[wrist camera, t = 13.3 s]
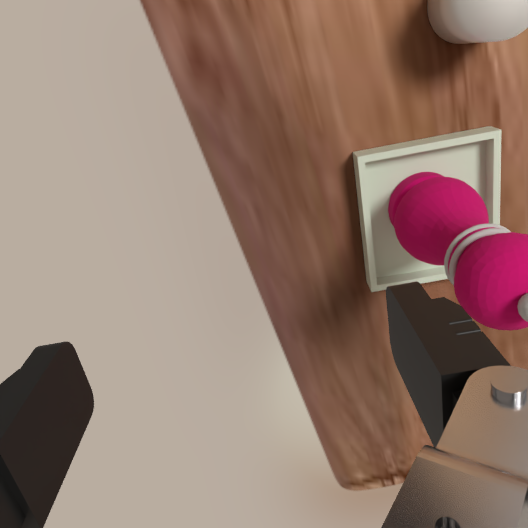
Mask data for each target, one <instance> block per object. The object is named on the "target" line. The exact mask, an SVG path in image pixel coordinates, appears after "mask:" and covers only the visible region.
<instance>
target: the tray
mask: <svg viewBox="0 0 528 528" xmlns="http://www.w3.org/2000/svg"><path fill="white" fill-rule="evenodd" d="M353 161H354V170H355V180H356V189H357V198H358V207H359V217H360V226H361V235H362V244H363V254H364V263H365V272H366V281H367V284H368V286H369V288H370V290H371V292H375V291H381V290H386V288H387V287H388V286H393V285H399V284H405V283H411V282H416V281H417V282H419V283H420V284H421V283H426V282H432V281H438V280H444V279H448V278H447V276H446V273H445V269H444V265H432V264H428V263H425V262H422V261H420V260H418V259H416V258H414V257H413V256H411V255H410V254H409V253H408V252H407V251H406V250H405V249H404V248H403V247H402V246H401V244H400V243H399V241H398V239H397V236H396V233H395V228H394V226H393V225H392V223H391V221H390V218H389V213H388V205H389V201H390V197H391V195H392V193H393V191H394V190H395V188H396V187H397V186H398V185H399V184H400V183H401V182H402V181H403V180H404V179H406V178H407V177H409V176H411V175H413V174H416V173H420V172H435V173H438V174H441V175H443V176H444V177H452V178H456V179H459V180H462V181H464V182H465V183H467V184H468V185H470V186H471V187H472V188H473V189H474V190H476V191H477V193H478V194H479V195H480V196H481V198H482V199H483V201H484V203H485V206H486V208H487V211H488V217H489V224H497V225H500V180H501V129H498V128H494V127H491V126H487V127H482V128H477V129H472V130H466V131H461V132H456V133H451V134H445V135H440V136H435V137H429V138H424V139H419V140H414V141H408V142H403V143H398V144H393V145H387V146H382V147H377V148H372V149H366V150H361V151H356V152H353Z"/></svg>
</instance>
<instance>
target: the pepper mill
mask: <svg viewBox="0 0 528 528" xmlns="http://www.w3.org/2000/svg"><path fill="white" fill-rule="evenodd" d="M388 213H389V218H390V221H391V223H392V225H393V226H394V228H395V233H396V236H397V239H398V241H399V243H400V244H401V246H402V247H403V248H404V249H405V250H406V251H407V252H408V253H409V254H410V255H411V256H413V257H414V258H416V259H418V260H420V261H422V262H425V263H428V264H432V265H444V269H445V273H446V276H447V278H448V279H449V281H450V282H451V283H452V284H453V285H454V289H455V294H456V297H457V299H458V302H459V303H460V305H461V306H462V307H463V309H464V310H465V311H466V312H467V313H468V314H469V315H470V316H471V317H472V318H473V319H475V320H476V321H477V322H479V323H481V324H483V325H485V326H487V327H490V328H494V329H498V330H518V329H522V328H526V327H528V235H527V234H520V233H513V232H511V231H509V230H508V229H507V228H505V227H503V226H500V225H497V224H489V217H488V211H487V208H486V206H485V203H484V201H483V199H482V198H481V196H480V195H479V194H478V193H477V191H476V190H474V189H473V188H472V187H471V186H470V185H468V184H467V183H465V182H464V181H462V180H459V179H456V178H452V177H444V176H443V175H441V174H438V173H435V172H420V173H416V174H413V175H411V176H409V177H407V178H406V179H404V180H403V181H402V182H401V183H400V184H399V185H398V186H397V187H396V188H395V190H394V191H393V193H392V195H391V197H390V201H389V205H388Z"/></svg>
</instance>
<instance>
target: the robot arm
mask: <svg viewBox="0 0 528 528" xmlns="http://www.w3.org/2000/svg"><path fill="white" fill-rule="evenodd" d="M386 300H387V311H388V322H389V334H390V343H391V349H392V353H393V357H394V360H395V363H396V366H397V368H398V370H399V372H400V374H401V377H402V379H403V381H404V383H405V385H406V387H407V390H408V392H409V394H410V396H411V398H412V400H413V402H414V405H415V407H416V409H417V411H418V413H419V415H420V418H421V420H422V422H423V424H424V426H425V428H426V430H427V433H428V435H429V437H430V439H431V441H432V443H433V446H434V447H432V446H429V445H425V446H424V447H423V448H422V449H421V450H420V451H419V453H418V455H417V457H416V459H415V461H414V463H413V465H412V467H411V469H410V471H409V473H408V475H407V477H406V479H405V481H404V483H403V485H402V487H401V489H400V491H399V493H398V495H397V497H396V500H395V501H394V503H393V505H392V507H391V509H390V511H389V513H388V515H387V518H386V519H385V521H384V523H383V525H382V528H528V370H525V369H522V368H518V367H512V366H510V364H509V363H508V362H507V361H506V359H505V358H504V357H503V356H502V355H501V353H500V352H499V351H498V350H497V349H496V347H495V346H494V345H493V344H492V343H491V341H490V340H489V339H488V338H487V337H486V335H485V334H484V333H483V332H481V331H480V328H479V327H478V326H477V324H476V323H475V322H474V321H472V318H471V317H470V316H469V315H468V314H467V312H466V311H465V310H464V309H463V307H462V306H460V305H458V304H456V303H454V302H452V301H450V300H448V299H447V298H445V297H442V298H436V299H431V298H430V297H429V295H428V294H427V293H426V291H425V290H424V289H423V287H422V286H421V284H420V283H419V282H417V281H416V282H411V283H405V284H399V285H393V286H388V287H387V288H386ZM93 408H94V399H93V393H92V389H91V387H90V385H89V382H88V380H87V377H86V375H85V372H84V370H83V367H82V365H81V363H80V360H79V358H78V355H77V353H76V351H75V348H74V347H73V345H72V344H71V343H69V342H61V343H55V344H49V345H44V346H38V347H36V348H35V349H34V350H33V352H32V353H31V355H30V356H29V358H28V359H27V360H26V361H25V363H24V364H23V366H22V367H21V369H19V370H17V371H16V372H15V373H13V374H12V375H11V376H10V377H9V378H7V379H6V380H5V381H4V382H3V383H1V384H0V528H43V526H44V524H45V522H46V519H47V517H48V515H49V513H50V510H51V508H52V505H53V503H54V501H55V499H56V496H57V494H58V492H59V489H60V487H61V485H62V483H63V480H64V478H65V476H66V473H67V471H68V469H69V467H70V464H71V462H72V460H73V457H74V455H75V453H76V451H77V448H78V446H79V443H80V441H81V439H82V437H83V434H84V432H85V430H86V428H87V425H88V423H89V420H90V418H91V416H92V413H93Z"/></svg>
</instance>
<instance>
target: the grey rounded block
mask: <svg viewBox="0 0 528 528" xmlns="http://www.w3.org/2000/svg"><path fill="white" fill-rule="evenodd" d="M427 12H428V18H429V22H430V24H431V26H432V28H433V30H434V31H435V33H436V34H437V35H438V36H439V37H440V38H442V39H443V40H445V41H447V42H450V43H454V44H467V43H481V42H495V41H503V40H507V39H510V38H512V37H515V36H517V35H518V34H520V33H521V32H523V31H524V30H525V29H526V28H527V27H528V0H428V3H427Z"/></svg>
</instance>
